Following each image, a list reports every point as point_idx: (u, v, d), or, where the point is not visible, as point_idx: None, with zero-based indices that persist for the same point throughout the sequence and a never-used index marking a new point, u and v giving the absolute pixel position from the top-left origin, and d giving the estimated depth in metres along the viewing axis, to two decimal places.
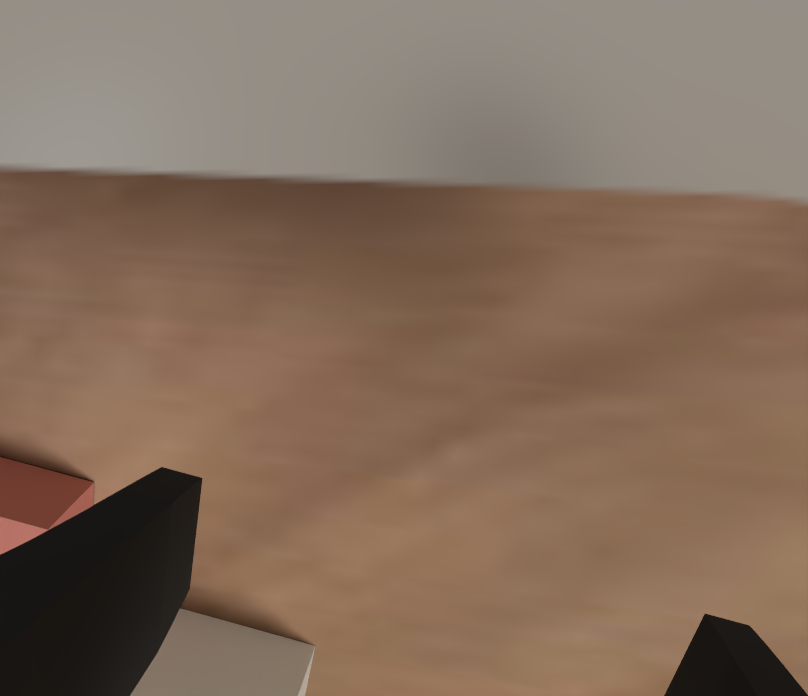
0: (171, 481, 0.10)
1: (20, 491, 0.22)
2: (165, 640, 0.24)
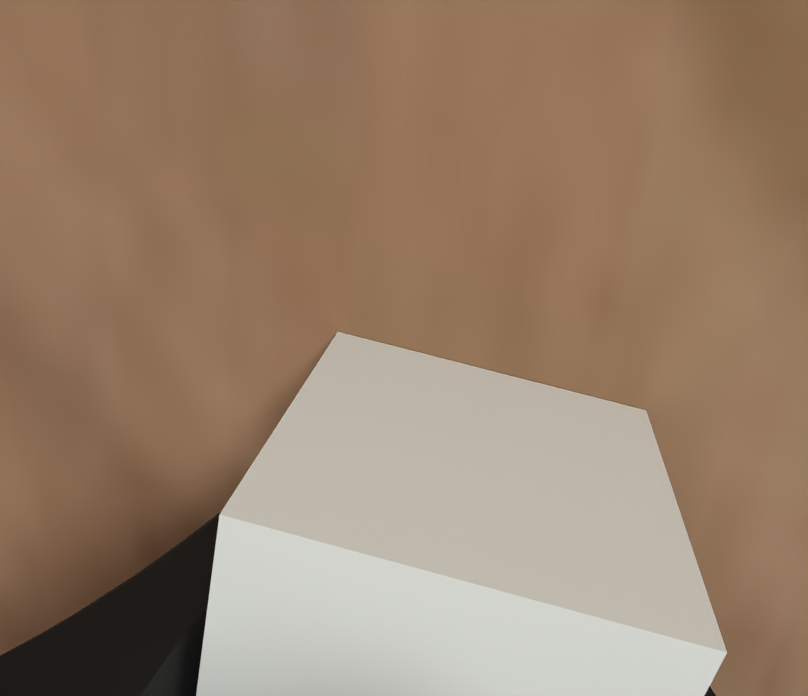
0: None
1: None
2: None
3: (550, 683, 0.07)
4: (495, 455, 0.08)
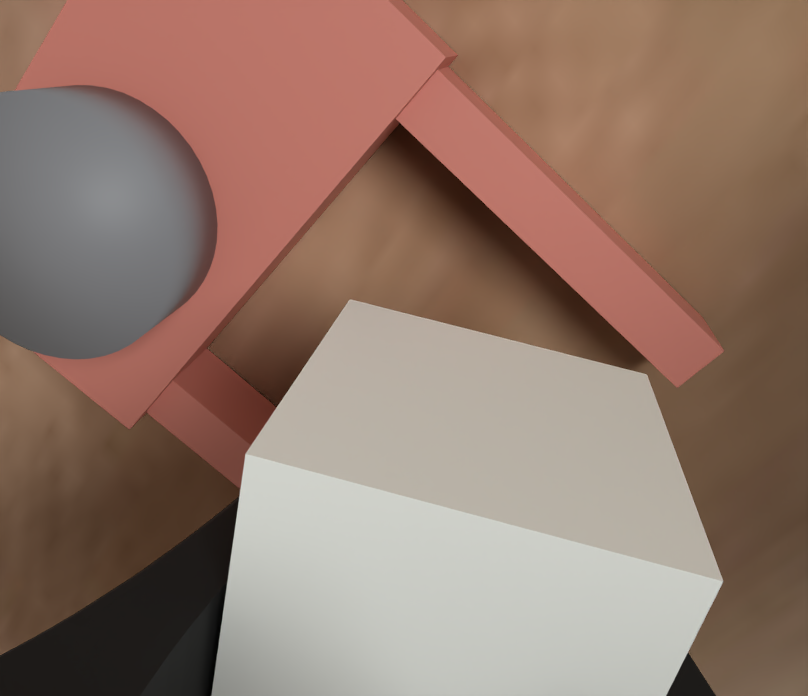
0: None
1: None
2: None
3: (555, 614, 0.07)
4: (503, 410, 0.09)
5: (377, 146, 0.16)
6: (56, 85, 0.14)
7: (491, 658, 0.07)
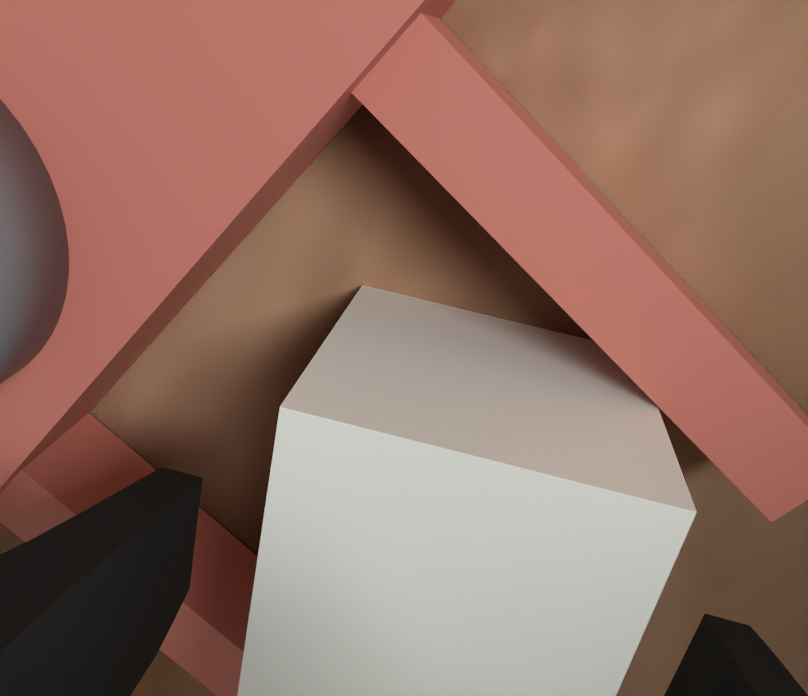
0: (171, 480, 0.10)
1: None
2: None
3: (552, 545, 0.08)
4: (504, 375, 0.10)
5: (328, 137, 0.10)
6: None
7: (496, 588, 0.08)
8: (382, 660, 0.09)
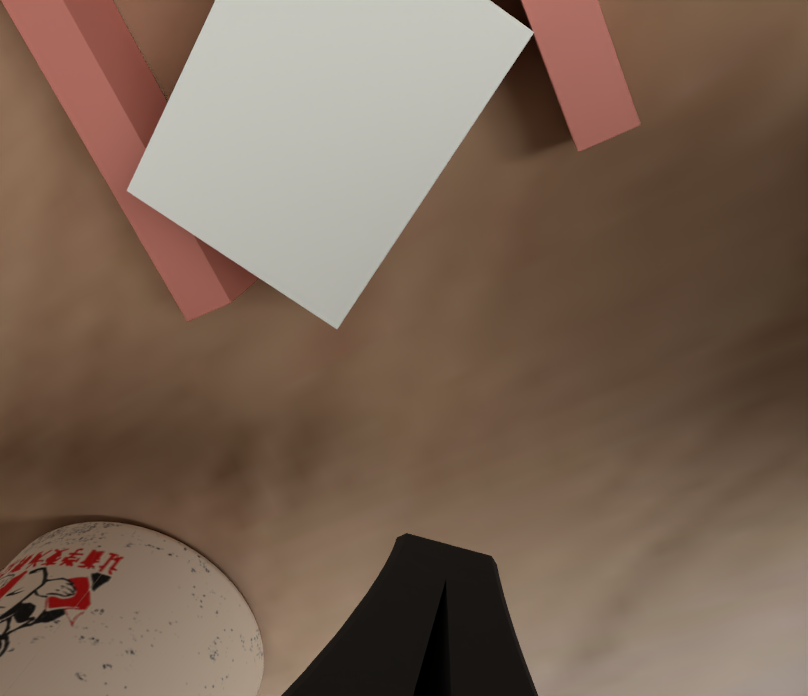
0: (427, 549, 0.10)
1: None
2: None
3: (433, 34, 0.11)
4: None
5: None
6: None
7: (384, 61, 0.12)
8: (284, 106, 0.12)
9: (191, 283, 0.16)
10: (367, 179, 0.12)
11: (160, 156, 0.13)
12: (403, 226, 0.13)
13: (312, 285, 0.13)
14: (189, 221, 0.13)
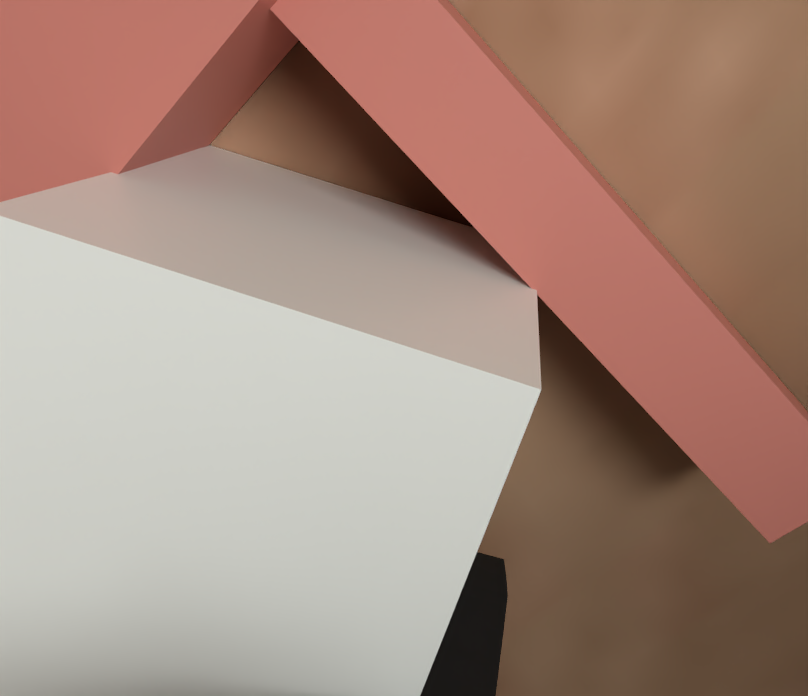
0: (484, 565, 0.10)
1: None
2: None
3: (349, 433, 0.06)
4: (342, 237, 0.08)
5: (254, 74, 0.09)
6: None
7: (278, 490, 0.06)
8: (138, 588, 0.07)
9: None
10: (316, 668, 0.07)
11: None
12: None
13: None
14: None
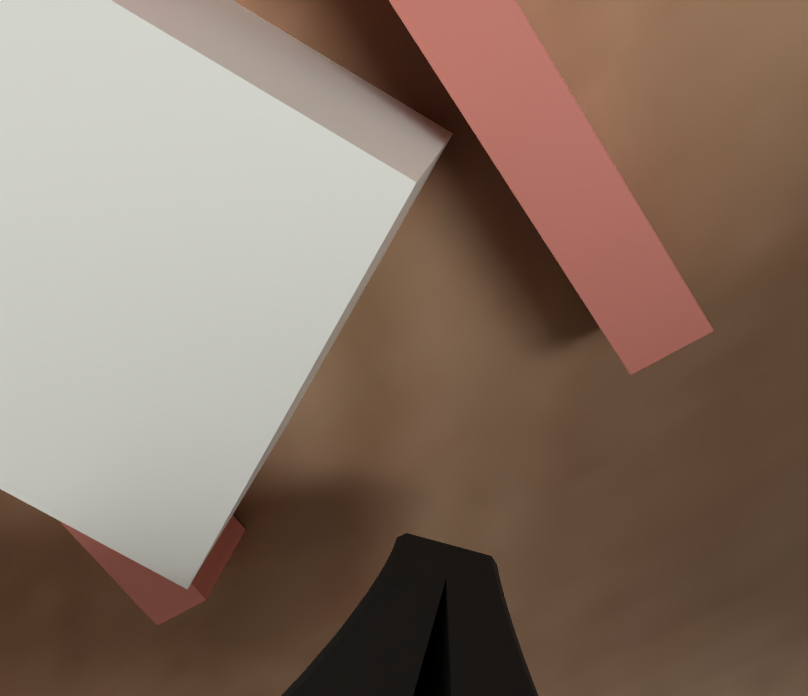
0: (427, 550, 0.10)
1: None
2: None
3: (262, 191, 0.07)
4: (291, 63, 0.09)
5: None
6: None
7: (196, 231, 0.08)
8: (60, 299, 0.08)
9: (152, 583, 0.13)
10: (197, 395, 0.08)
11: None
12: (258, 458, 0.08)
13: (143, 534, 0.09)
14: None
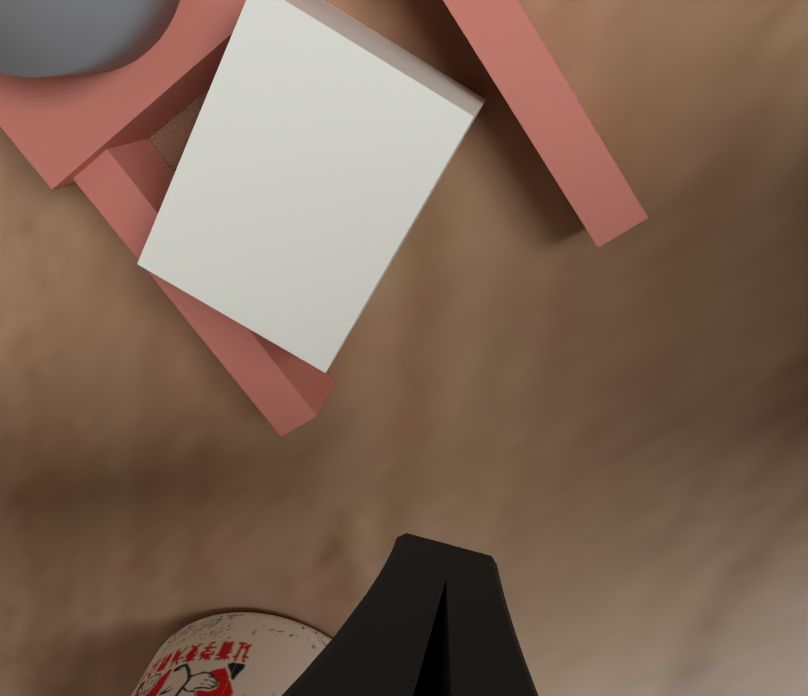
0: (427, 550, 0.10)
1: None
2: None
3: (389, 122, 0.13)
4: (393, 53, 0.15)
5: None
6: None
7: (350, 146, 0.14)
8: (266, 187, 0.14)
9: (280, 405, 0.19)
10: (342, 244, 0.14)
11: (164, 234, 0.15)
12: (376, 283, 0.15)
13: (301, 336, 0.15)
14: (192, 287, 0.15)
